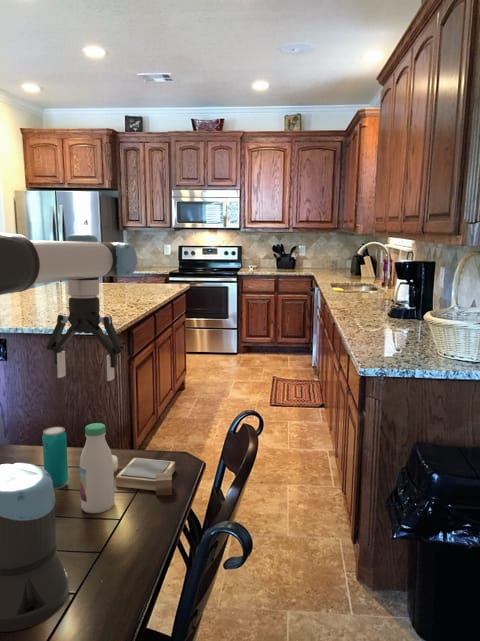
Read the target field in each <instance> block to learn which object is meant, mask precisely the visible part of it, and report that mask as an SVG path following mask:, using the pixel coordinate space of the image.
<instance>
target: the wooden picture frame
mask: <svg viewBox="0 0 480 641" xmlns="http://www.w3.org/2000/svg"><path fill="white" fill-rule="evenodd" d="M175 471H176V461H171V460H160V459H152V458H138V457H133V458H132V459H131V461H129V462H128V464H126V466H124V468H123V469H122V470H121V471H119V473H118V474H117V475H115V486H116V487H120V488H121V487H122V488H130V489H131V488H133V489H139V490H140V489H141V490H149V491H156V473H171V472H172V475H173V474H174V472H175Z"/></svg>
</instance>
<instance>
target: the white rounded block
mask: <svg viewBox="0 0 480 641" xmlns="http://www.w3.org/2000/svg"><path fill="white" fill-rule="evenodd" d="M112 457H113V468H114V474H115V473H116V472H118V470H119V464H118V461H119V460H118V459H119V458H118V456H116V455H114V454H112Z"/></svg>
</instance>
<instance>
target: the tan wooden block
mask: <svg viewBox="0 0 480 641" xmlns="http://www.w3.org/2000/svg"><path fill="white" fill-rule="evenodd" d="M172 475H173V474H172V472H171V473H156V490H155V496H156V497H157V496H158V497H159V496H172V495H173V476H172Z"/></svg>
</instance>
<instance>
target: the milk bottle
mask: <svg viewBox="0 0 480 641" xmlns="http://www.w3.org/2000/svg"><path fill="white" fill-rule="evenodd" d="M106 431H107V430H106V425H105V424H104V423H100V422H99V423H98V422H96V423H95V422H94V423H90V424H87V425H85V428H84V433H85V434H84V436H85V438H86V440H85V444H84V446H83V449H82V451H81V454H80V457H79V486H80V488H79V490H80V507H81V509H82V511H84V512H85V513H87V514H101V513H105V512H107V511H109V510H111V509H112V508H113V507H114V504H115V475H114V474H115V473H114V468H113V457H112V455H113V453H112V451H111V448H110V447H109V445H108V443H107V441H106Z"/></svg>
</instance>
